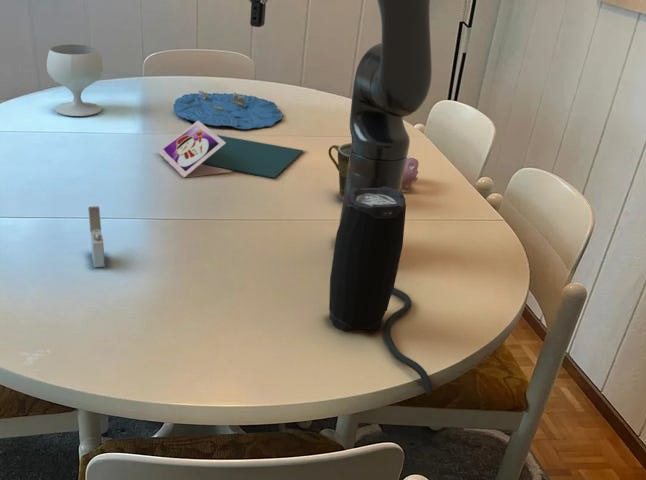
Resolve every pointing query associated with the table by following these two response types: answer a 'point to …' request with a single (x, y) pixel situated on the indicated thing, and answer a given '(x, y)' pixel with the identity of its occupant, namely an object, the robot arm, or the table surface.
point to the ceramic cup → (341, 164)
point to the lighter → (96, 237)
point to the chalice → (75, 75)
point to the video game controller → (410, 172)
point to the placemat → (252, 157)
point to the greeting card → (194, 151)
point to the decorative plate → (227, 110)
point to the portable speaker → (366, 257)
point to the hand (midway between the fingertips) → (257, 26)
